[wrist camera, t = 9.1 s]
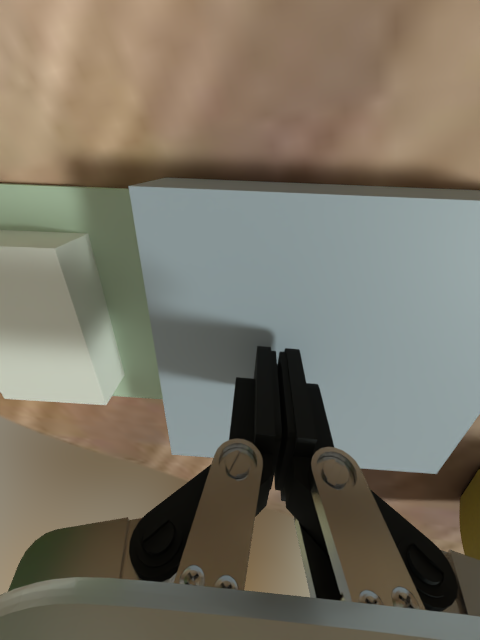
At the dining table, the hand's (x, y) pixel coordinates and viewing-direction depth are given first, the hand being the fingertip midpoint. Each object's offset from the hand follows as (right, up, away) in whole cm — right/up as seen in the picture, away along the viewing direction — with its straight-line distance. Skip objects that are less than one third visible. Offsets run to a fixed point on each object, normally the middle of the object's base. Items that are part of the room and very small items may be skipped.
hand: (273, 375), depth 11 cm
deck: (+3, +2, +4) cm, 5 cm away
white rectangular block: (-12, +1, +2) cm, 12 cm away
